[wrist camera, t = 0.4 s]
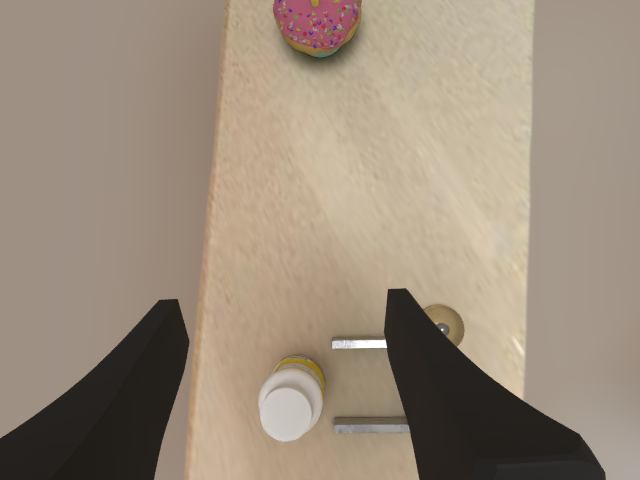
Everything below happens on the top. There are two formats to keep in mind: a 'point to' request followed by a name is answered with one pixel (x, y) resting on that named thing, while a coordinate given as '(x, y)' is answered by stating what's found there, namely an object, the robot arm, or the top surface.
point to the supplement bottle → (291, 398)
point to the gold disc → (447, 322)
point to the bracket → (367, 422)
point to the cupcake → (317, 24)
